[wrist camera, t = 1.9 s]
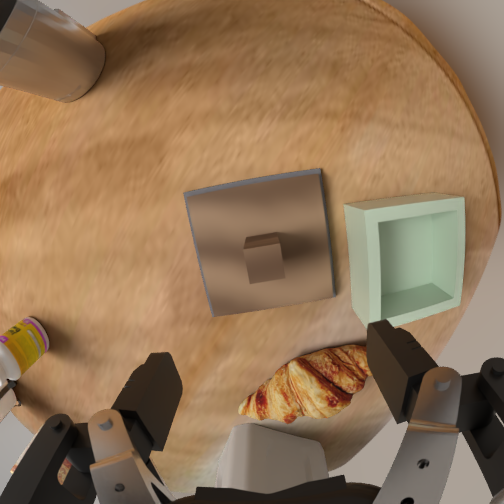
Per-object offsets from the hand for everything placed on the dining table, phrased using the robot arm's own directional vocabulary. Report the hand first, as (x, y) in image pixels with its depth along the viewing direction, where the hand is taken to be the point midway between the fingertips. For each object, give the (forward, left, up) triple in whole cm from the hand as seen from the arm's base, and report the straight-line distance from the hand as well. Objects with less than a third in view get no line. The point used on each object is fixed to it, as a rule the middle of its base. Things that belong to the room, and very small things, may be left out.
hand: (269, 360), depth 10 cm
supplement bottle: (+8, -39, -19) cm, 44 cm away
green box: (+3, +15, -19) cm, 25 cm away
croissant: (+18, +3, -20) cm, 27 cm away
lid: (0, 0, -19) cm, 19 cm away
